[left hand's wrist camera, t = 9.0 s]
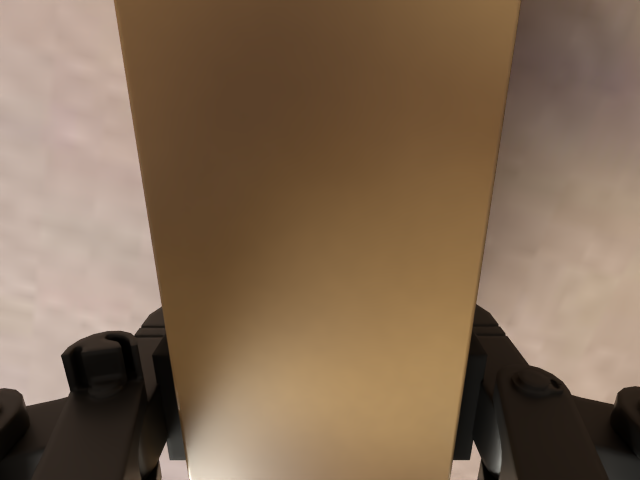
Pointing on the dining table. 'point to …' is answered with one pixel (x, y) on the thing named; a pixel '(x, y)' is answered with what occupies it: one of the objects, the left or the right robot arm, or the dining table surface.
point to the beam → (318, 222)
